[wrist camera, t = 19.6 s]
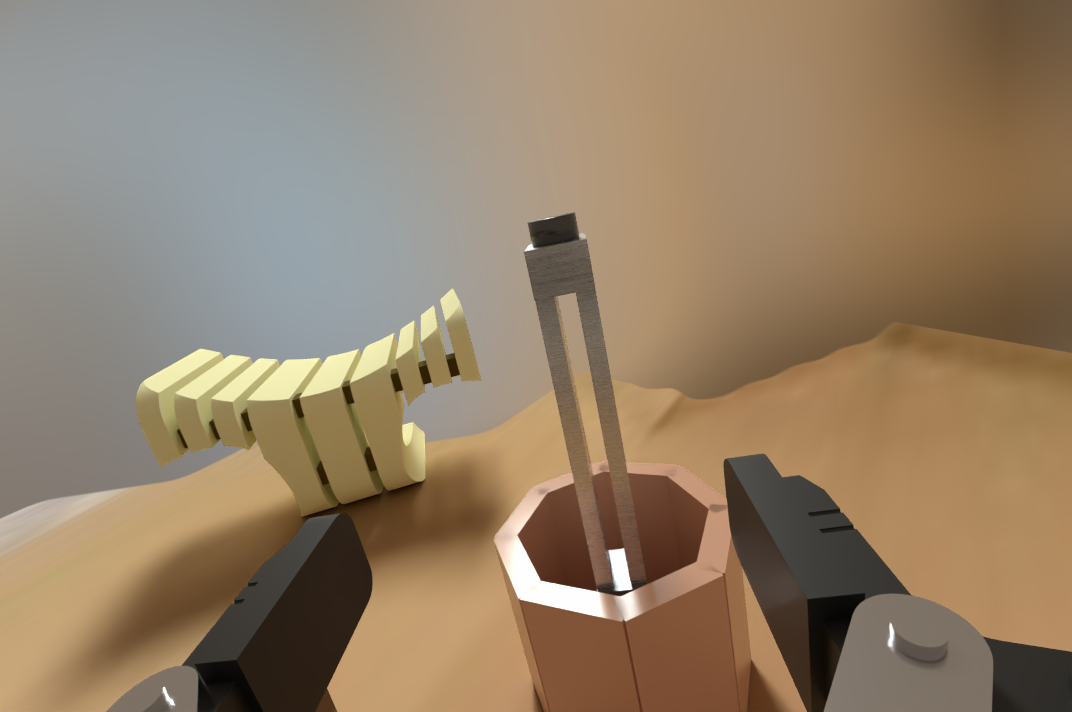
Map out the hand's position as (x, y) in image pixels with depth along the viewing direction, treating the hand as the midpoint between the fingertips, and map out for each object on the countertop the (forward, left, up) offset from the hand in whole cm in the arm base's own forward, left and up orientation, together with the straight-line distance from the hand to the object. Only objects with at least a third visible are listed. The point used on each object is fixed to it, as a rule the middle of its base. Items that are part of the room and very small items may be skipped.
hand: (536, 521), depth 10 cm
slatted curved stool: (-40, +27, -20) cm, 53 cm away
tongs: (-4, +12, -18) cm, 22 cm away
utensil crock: (-4, +12, -20) cm, 23 cm away
